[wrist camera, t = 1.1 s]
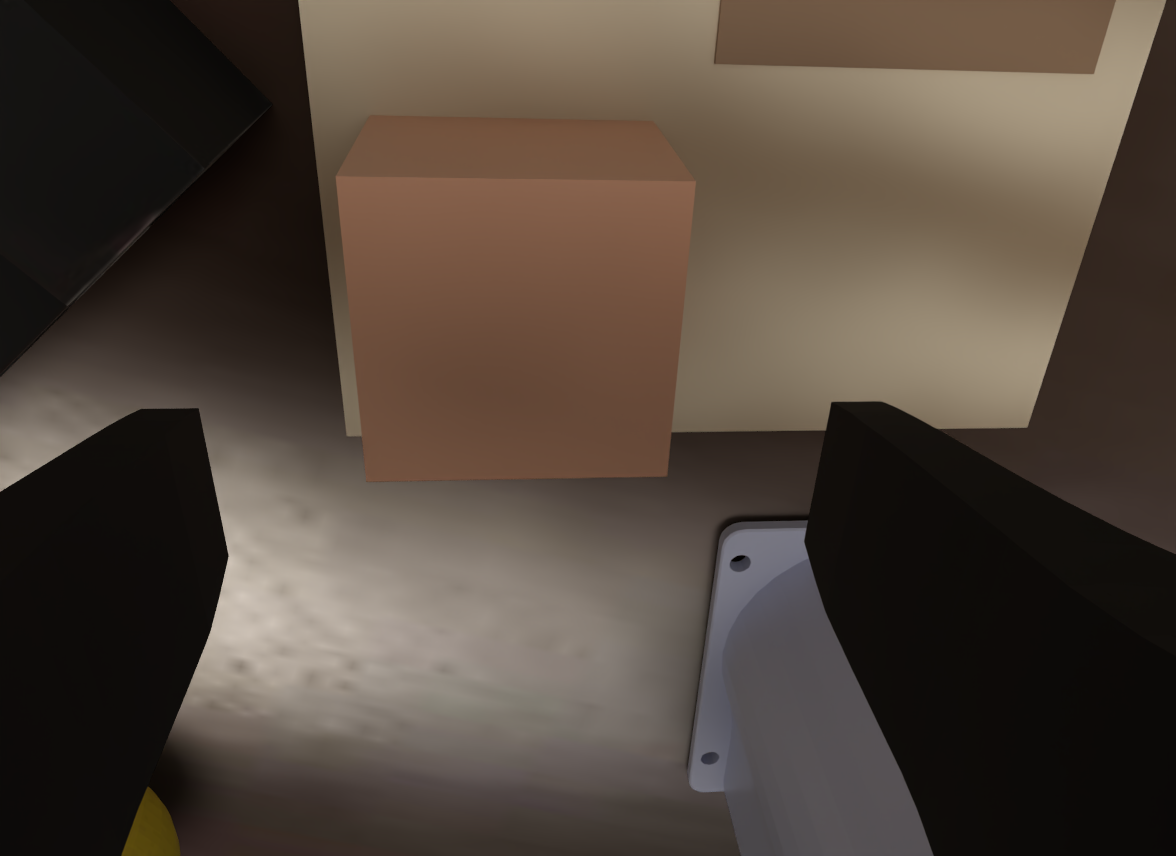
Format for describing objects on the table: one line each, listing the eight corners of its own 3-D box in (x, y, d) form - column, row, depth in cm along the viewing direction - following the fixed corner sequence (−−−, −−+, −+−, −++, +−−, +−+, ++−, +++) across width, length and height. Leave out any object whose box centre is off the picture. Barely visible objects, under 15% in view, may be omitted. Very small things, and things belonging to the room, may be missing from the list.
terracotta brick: (635, 370, 19) (667, 476, 15) (390, 371, 18) (366, 482, 15) (653, 121, 16) (695, 181, 13) (369, 115, 16) (335, 176, 12)
